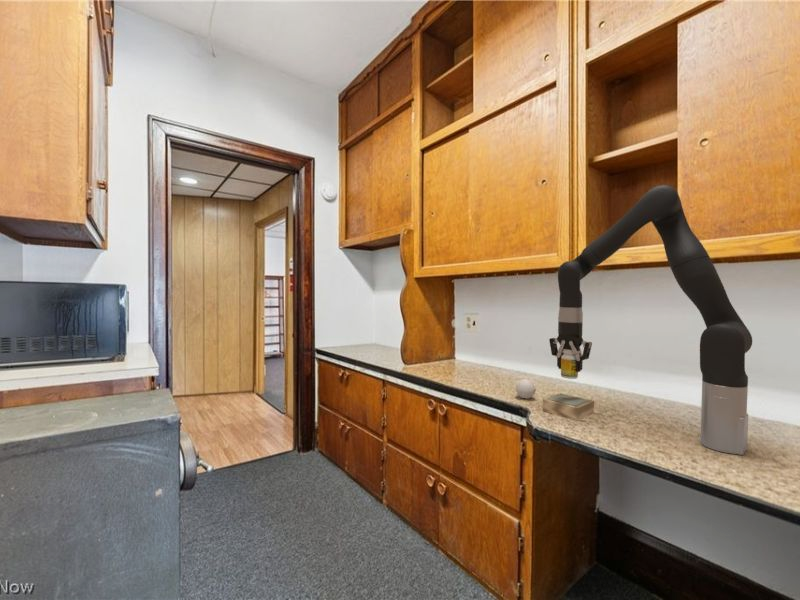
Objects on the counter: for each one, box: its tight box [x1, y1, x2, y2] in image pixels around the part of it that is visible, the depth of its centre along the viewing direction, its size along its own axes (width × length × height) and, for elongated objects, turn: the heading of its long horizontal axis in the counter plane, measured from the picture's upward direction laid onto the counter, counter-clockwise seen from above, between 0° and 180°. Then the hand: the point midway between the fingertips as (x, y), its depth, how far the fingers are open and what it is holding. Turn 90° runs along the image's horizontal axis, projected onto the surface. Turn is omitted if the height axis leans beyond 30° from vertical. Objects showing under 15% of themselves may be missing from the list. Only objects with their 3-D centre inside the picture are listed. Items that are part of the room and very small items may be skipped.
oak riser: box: [542, 392, 595, 421], centre depth 129 cm, size 12×12×4 cm
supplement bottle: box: [560, 349, 579, 380], centre depth 129 cm, size 5×5×10 cm
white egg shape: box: [514, 378, 537, 400], centre depth 146 cm, size 10×7×7 cm
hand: (569, 369), depth 129 cm, fingers closed on supplement bottle, 5 cm apart
